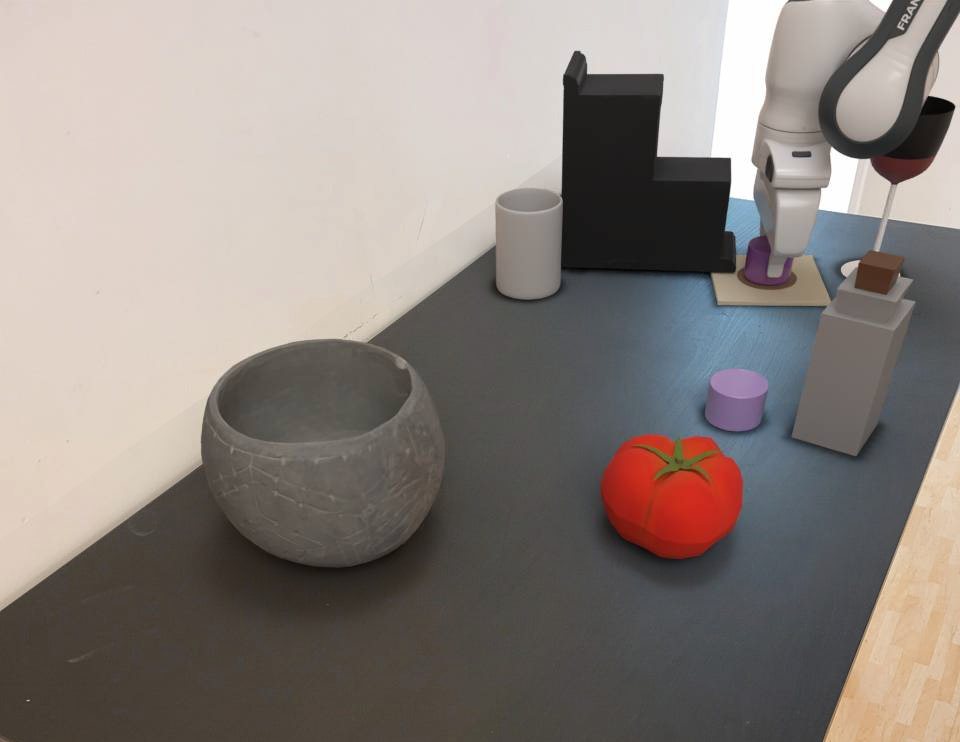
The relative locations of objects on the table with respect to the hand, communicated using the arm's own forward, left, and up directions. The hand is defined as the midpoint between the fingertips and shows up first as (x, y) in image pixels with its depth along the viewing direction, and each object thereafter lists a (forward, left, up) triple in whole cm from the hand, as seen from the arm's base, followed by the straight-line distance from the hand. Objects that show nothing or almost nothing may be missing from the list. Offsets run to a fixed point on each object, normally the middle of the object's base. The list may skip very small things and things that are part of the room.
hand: (769, 262), depth 121 cm
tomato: (+16, +53, -3) cm, 55 cm away
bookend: (+15, -7, -2) cm, 17 cm away
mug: (+31, 0, -3) cm, 31 cm away
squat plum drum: (0, 0, -2) cm, 2 cm away
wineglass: (-14, -3, -3) cm, 15 cm away
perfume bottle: (-2, +36, -3) cm, 36 cm away
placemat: (0, 0, -2) cm, 3 cm away
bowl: (+47, +54, -3) cm, 72 cm away
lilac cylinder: (+8, +33, -2) cm, 34 cm away
